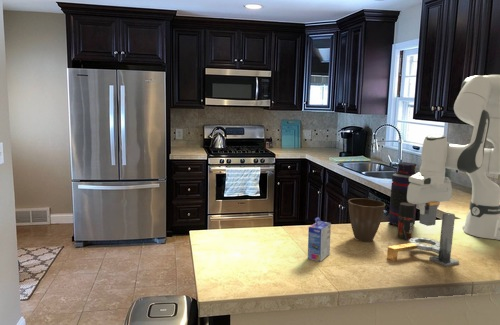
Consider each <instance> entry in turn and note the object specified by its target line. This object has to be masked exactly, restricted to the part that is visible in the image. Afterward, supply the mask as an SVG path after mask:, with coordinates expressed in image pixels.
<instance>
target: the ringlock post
mask: <svg viewBox="0 0 500 325" xmlns="http://www.w3.org/2000/svg"><path fill="white" fill-rule="evenodd" d="M455 218H456V215H455V213H450V212H443V213H442V218H441V228H440V237H439V241H438V240H436V239H432V238H428V237H419V236H416V237H412V238H410V239H409V240H408V242H407V243H401V244H394V245H389V246H387V256H386V259H388V260H391V261H398V255H399V252H404V251H410V250H420V251H425V252H432V253H434V254H437V255H434V256H433V255H432V256H430V257H429V258H428V260H430V261H431V260H432V262H435V263H436V264H439V265H441V266H443V267H451V266H454V265H459V264H460V261H459V260H458V259H455V258H453V257H452V245H453V238H454V237H453V236H454V229H455V221H456V220H455ZM420 243H422V244H420Z"/></svg>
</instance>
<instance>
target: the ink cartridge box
mask: <svg viewBox="0 0 500 325" xmlns="http://www.w3.org/2000/svg"><path fill="white" fill-rule="evenodd" d="M314 221H315V223H313V224H311V225H310V226H309V227H308V233H307V234H308V236H307V237H308V238H307V239H308V240H307V241H308V242H307V259H308V260H312V261H316V262H322V261H323V260H324V259H325V258H326V257H328V256H329V255H330V253H331V236H332V235H331V232H332V231H331V229H332V223H331V222H329V221H328V222H327V221H323V220H321V219H320V217H319V216H317V217H315V218H314Z"/></svg>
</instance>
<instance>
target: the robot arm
mask: <svg viewBox="0 0 500 325" xmlns="http://www.w3.org/2000/svg"><path fill="white" fill-rule="evenodd" d="M453 111H454V114H455V116H456V117H457V118H458V119H459V120H460V121H462V122H464V123H466V124H468V125H470V126H472V127H473V130H472V134H471V138H470V142H469V143H467V144H456V143H451V142H448V139H447V138H448V137H447V136H445V135H443V134H430V135H427V136H426V137H425V138H424V139H423V143H422V146H421V154H420V161H421V164H420V167H419V169H420V172H419V171H418V172H416V174H414V175H412V176H410V177H409V182H411V183H410V184H409V186H408V190H407V201H408V202H409V203H412V204H417V205H418V207H419V215H420V214H423V215H424V214H426V212H427V210H425V207H424V206H425V204H426V203H429V202H439V205H437V209H439V207H440V204H441V202H450V201H451V200H452V197H453V189H452V188H453V186H452V180H451V179H450V177H448V176H446V169H448V170H455V171H459V172H463V173H465V174H467V175H468V176H467V177H469V179H470V181H471V188H472V189H471V201H470V202H469V211H467V215H466V218H465V223H464V225H463V226H462V229H463V232H464V233H466V234H468V235H470V236H473V237H478V238H481V239H491V240H497V241H500V185H499V184H498V183H496V182H495V181H492V180H491V179H489V178H488V176H487V174H492V175H494V174H495V175H500V74H488V75H486V74H485V75H480V74H479V75H471V76H469V77H466V78H465V79H464V80H463V81H462V83H461V87H460V91H459V93H458V95H457V97H456V99H455V101H454V104H453ZM487 141H488V142H489V143H491V144H492V145H493V148H487V147H486V148H485V146H486V142H487ZM436 214H438V213H437V212H436Z"/></svg>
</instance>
